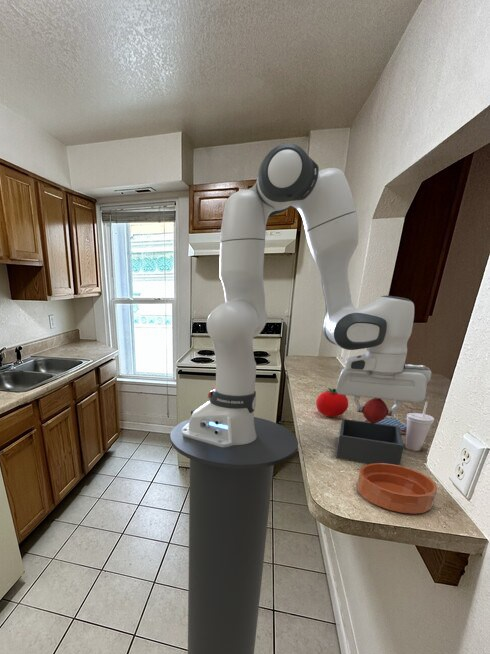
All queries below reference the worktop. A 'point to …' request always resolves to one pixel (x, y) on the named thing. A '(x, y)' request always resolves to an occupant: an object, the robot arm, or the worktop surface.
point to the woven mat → (392, 422)
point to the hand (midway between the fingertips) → (373, 413)
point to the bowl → (396, 488)
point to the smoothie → (417, 429)
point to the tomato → (331, 403)
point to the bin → (369, 442)
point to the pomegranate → (375, 410)
